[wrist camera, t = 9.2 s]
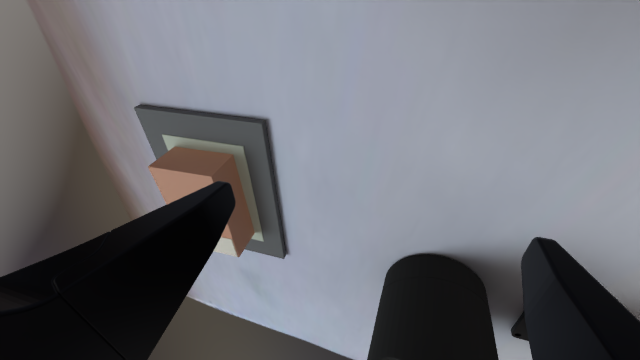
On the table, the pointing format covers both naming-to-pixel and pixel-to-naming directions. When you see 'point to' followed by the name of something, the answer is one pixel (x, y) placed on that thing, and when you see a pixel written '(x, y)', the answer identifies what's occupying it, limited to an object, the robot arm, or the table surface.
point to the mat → (230, 138)
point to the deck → (198, 172)
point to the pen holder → (432, 313)
